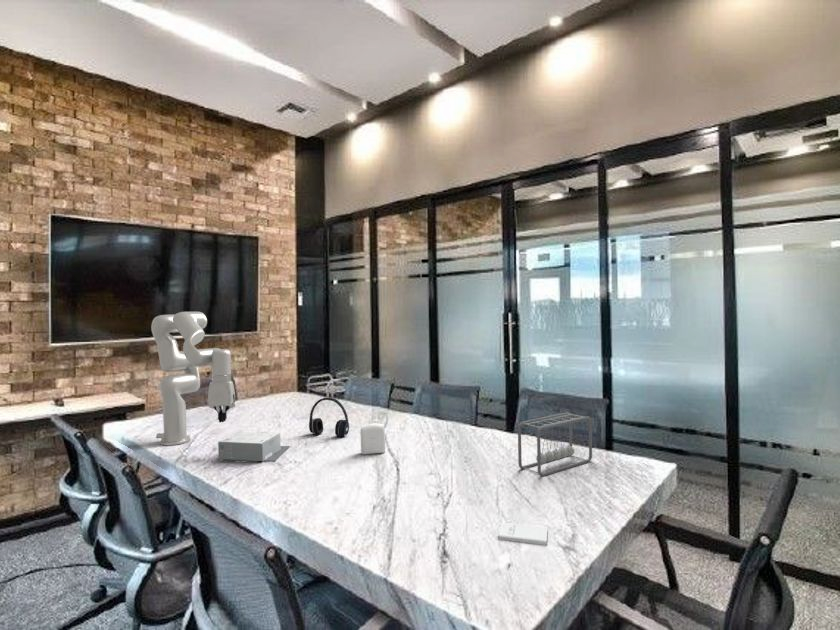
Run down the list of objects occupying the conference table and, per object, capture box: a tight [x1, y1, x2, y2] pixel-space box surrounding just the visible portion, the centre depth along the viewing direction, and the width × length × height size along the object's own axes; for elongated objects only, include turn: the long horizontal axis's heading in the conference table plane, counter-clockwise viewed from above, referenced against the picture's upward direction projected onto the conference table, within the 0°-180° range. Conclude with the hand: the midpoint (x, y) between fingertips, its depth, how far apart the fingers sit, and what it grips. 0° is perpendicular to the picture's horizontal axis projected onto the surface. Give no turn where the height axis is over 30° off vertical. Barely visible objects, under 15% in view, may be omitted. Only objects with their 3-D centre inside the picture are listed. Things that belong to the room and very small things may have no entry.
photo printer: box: [360, 422, 386, 455], centre depth 199 cm, size 10×4×12 cm, turn 100°
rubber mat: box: [221, 445, 291, 463], centre depth 200 cm, size 22×20×1 cm
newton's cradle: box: [517, 411, 593, 477], centre depth 179 cm, size 30×10×18 cm, turn 124°
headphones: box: [308, 397, 350, 438], centre depth 227 cm, size 20×7×18 cm, turn 71°
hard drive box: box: [217, 431, 282, 463], centre depth 198 cm, size 16×8×20 cm
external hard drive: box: [497, 521, 549, 546], centre depth 125 cm, size 2×8×12 cm
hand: (222, 421), depth 201 cm, fingers closed
